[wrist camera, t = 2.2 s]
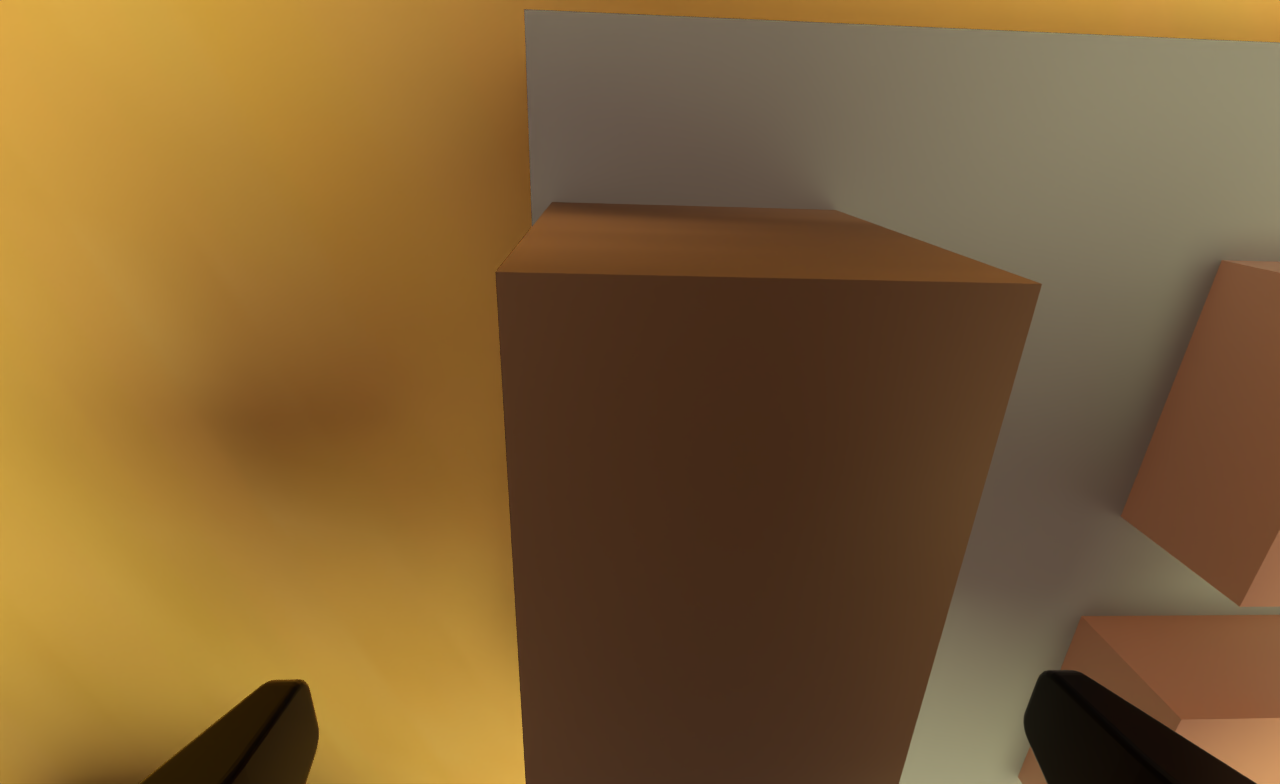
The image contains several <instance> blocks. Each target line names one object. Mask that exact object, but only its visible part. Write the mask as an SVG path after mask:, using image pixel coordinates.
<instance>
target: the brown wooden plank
mask: <svg viewBox="0 0 1280 784" xmlns="http://www.w3.org/2000/svg"><path fill="white" fill-rule="evenodd" d="M1041 286H1042V284H1041V283H1038V282H1035V281H1033V280H1030V279H1027V278H1024V277H1021V276H1019V275H1016V274H1013V273H1010V272H1007V271H1005V270H1002V269H999V268H996V267H994V266H991V265H988V264H985V263H982V262H980V261H977V260H974V259H971V258H968V257H966V256H963V255H960V254H957V253H954V252H952V251H949V250H946V249H943V248H941V247H938V246H935V245H932V244H929V243H927V242H924V241H921V240H918V239H915V238H913V237H910V236H907V235H904V234H901V233H899V232H896V231H893V230H890V229H887V228H885V227H882V226H879V225H876V224H874V223H871V222H868V221H865V220H862V219H860V218H857V217H854V216H851V215H848V214H846V213H843V212H840V211H837V210H819V209H783V208H748V207H712V206H676V205H640V204H605V203H569V202H552V203H551V204H550V205H549V206H548V207H547V209H546V210H545V211H544V212H543V214H542V215H541V216H540V217H539V219H538V220H537V221H536V222H535V224H534V225H533V226H532V227H531V229H530V230H529V231H528V232H527V234H526V235H525V236H524V237H523V239H522V240H521V241H520V242H519V243H518V245H517V246H516V247H515V248H514V250H513V251H512V252H511V253H510V255H509V256H508V257H507V258H506V260H505V261H504V262H503V263H502V265H501V266H500V267H499V268H498V270H497V271H496V287H497V304H498V321H499V338H500V355H501V372H502V389H503V406H504V422H505V439H506V456H507V473H508V490H509V507H510V524H511V541H512V558H513V575H514V592H515V609H516V626H517V643H518V659H519V676H520V693H521V710H522V727H523V744H524V761H525V778H526V784H899V782H900V778H901V775H902V771H903V768H904V764H905V761H906V757H907V754H908V750H909V747H910V743H911V740H912V736H913V733H914V729H915V726H916V722H917V719H918V715H919V712H920V708H921V705H922V701H923V698H924V694H925V691H926V687H927V684H928V680H929V677H930V674H931V670H932V667H933V663H934V660H935V656H936V653H937V649H938V646H939V642H940V639H941V635H942V632H943V628H944V625H945V621H946V618H947V614H948V611H949V607H950V604H951V600H952V597H953V593H954V590H955V586H956V583H957V579H958V576H959V572H960V569H961V565H962V562H963V558H964V555H965V551H966V548H967V544H968V541H969V537H970V534H971V530H972V527H973V523H974V520H975V516H976V513H977V510H978V506H979V503H980V499H981V496H982V492H983V489H984V485H985V482H986V478H987V475H988V471H989V468H990V464H991V461H992V457H993V454H994V450H995V447H996V443H997V440H998V436H999V433H1000V429H1001V426H1002V422H1003V419H1004V415H1005V412H1006V408H1007V405H1008V401H1009V398H1010V394H1011V391H1012V387H1013V384H1014V380H1015V377H1016V373H1017V370H1018V366H1019V363H1020V359H1021V356H1022V352H1023V349H1024V346H1025V342H1026V339H1027V335H1028V332H1029V328H1030V325H1031V321H1032V318H1033V314H1034V311H1035V307H1036V304H1037V300H1038V297H1039V293H1040V290H1041Z"/></svg>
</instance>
